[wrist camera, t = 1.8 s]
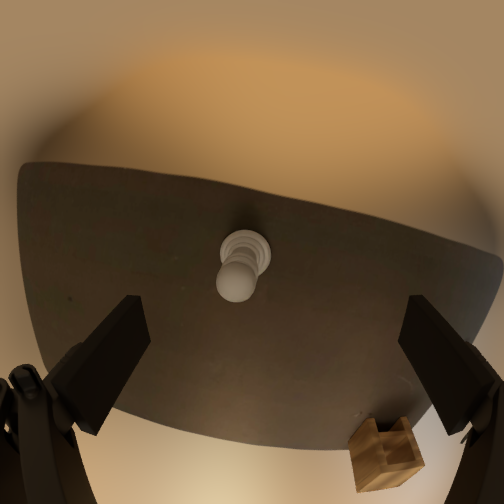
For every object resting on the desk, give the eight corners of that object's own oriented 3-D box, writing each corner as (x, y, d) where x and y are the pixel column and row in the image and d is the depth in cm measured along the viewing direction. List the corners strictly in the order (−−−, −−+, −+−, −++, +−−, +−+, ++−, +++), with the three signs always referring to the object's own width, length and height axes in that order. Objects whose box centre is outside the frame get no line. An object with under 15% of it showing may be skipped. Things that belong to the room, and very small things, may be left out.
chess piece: (218, 271, 31) (198, 313, 22) (224, 224, 29) (205, 252, 20) (265, 280, 30) (263, 325, 22) (275, 233, 29) (276, 265, 20)
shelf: (406, 416, 38) (425, 465, 26) (386, 440, 40) (399, 486, 29) (366, 418, 38) (381, 473, 26) (347, 441, 40) (356, 493, 29)
